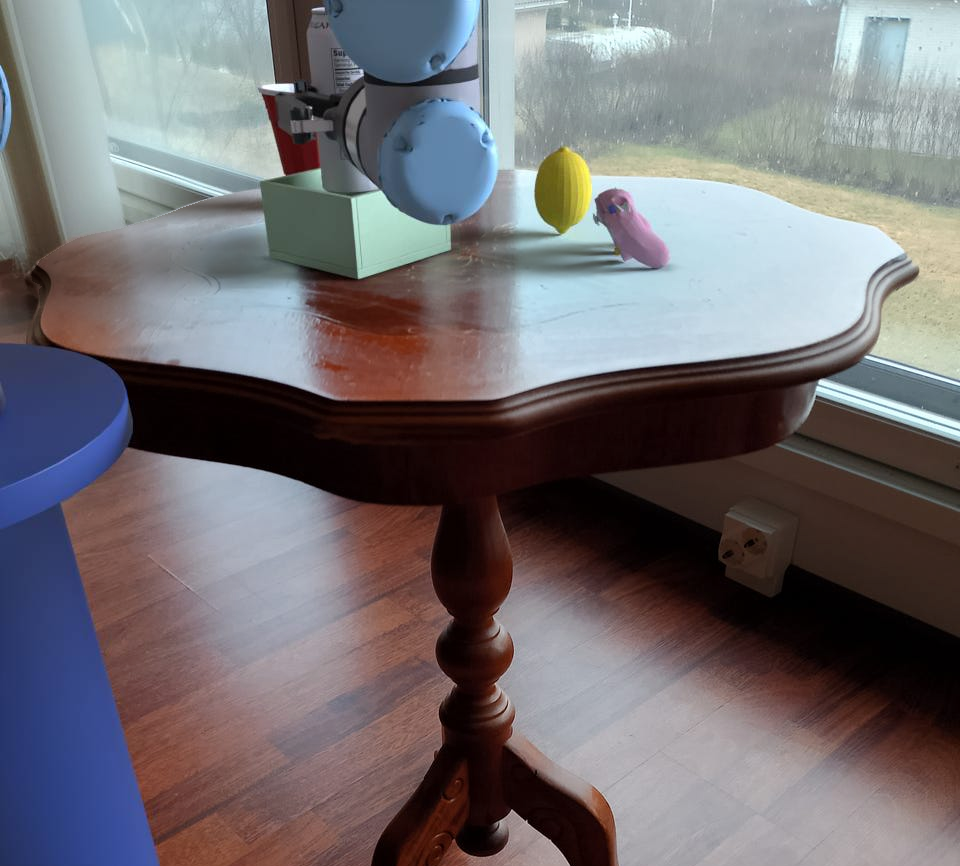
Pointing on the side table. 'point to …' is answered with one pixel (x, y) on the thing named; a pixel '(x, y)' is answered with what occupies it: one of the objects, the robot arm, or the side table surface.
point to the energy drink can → (329, 77)
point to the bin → (343, 228)
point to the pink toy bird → (629, 229)
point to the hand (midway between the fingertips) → (337, 93)
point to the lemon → (563, 189)
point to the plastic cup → (289, 136)
